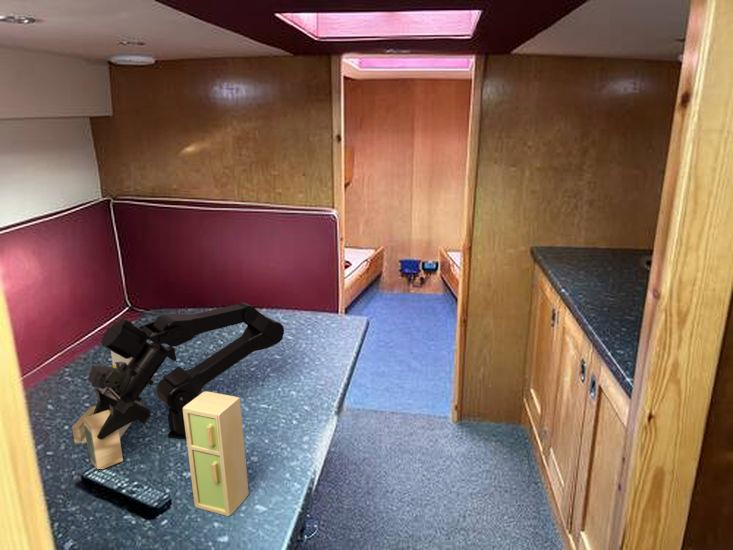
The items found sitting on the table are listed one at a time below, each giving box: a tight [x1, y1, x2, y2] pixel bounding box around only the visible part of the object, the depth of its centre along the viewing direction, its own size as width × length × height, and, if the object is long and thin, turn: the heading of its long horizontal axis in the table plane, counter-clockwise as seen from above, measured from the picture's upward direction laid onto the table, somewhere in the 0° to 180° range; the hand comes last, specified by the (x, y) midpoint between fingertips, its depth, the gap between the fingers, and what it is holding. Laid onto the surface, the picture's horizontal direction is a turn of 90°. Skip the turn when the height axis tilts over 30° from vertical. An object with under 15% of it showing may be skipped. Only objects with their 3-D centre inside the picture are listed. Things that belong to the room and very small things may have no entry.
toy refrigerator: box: [183, 390, 250, 517], centre depth 102 cm, size 8×7×21 cm
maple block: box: [83, 410, 124, 470], centre depth 116 cm, size 5×5×10 cm
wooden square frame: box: [71, 405, 133, 444], centre depth 128 cm, size 10×10×4 cm
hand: (94, 433), depth 114 cm, fingers closed on maple block, 5 cm apart
